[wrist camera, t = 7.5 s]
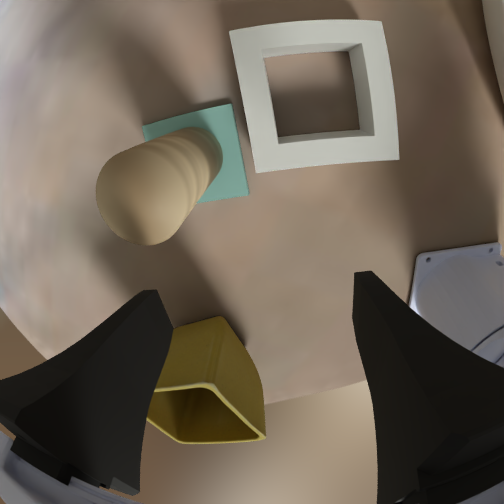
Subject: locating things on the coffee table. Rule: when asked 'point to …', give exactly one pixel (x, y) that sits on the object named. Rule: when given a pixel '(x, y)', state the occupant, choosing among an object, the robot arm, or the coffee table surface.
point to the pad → (225, 131)
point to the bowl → (496, 36)
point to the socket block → (366, 86)
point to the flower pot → (208, 387)
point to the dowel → (157, 184)
